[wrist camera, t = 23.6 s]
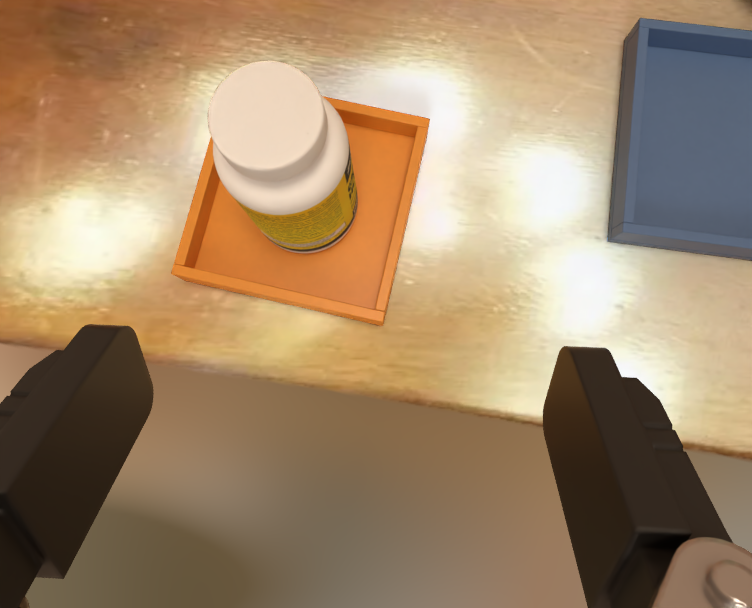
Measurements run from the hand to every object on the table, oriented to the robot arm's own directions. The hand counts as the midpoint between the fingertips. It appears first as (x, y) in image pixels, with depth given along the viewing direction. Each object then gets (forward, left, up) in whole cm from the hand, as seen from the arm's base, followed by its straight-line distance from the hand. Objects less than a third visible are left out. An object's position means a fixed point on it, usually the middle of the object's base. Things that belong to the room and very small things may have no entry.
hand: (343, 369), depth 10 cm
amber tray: (+9, +6, -21) cm, 24 cm away
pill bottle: (+9, +6, -21) cm, 23 cm away
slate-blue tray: (+18, -18, -21) cm, 33 cm away
